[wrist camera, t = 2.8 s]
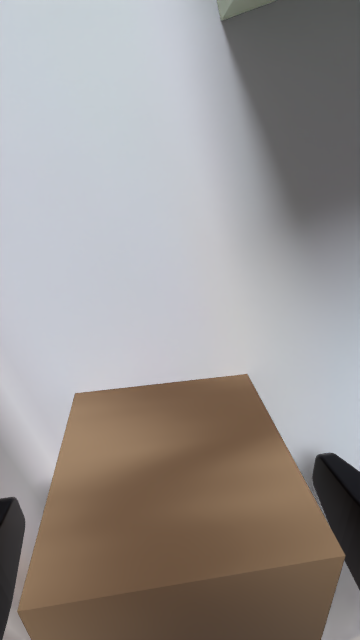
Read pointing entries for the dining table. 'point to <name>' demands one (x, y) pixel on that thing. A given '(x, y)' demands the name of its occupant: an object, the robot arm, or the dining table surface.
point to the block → (238, 7)
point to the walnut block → (179, 523)
